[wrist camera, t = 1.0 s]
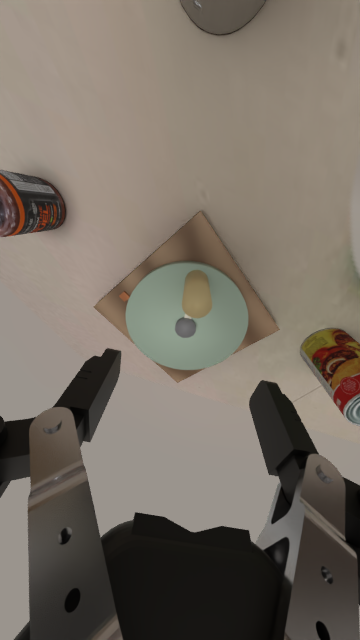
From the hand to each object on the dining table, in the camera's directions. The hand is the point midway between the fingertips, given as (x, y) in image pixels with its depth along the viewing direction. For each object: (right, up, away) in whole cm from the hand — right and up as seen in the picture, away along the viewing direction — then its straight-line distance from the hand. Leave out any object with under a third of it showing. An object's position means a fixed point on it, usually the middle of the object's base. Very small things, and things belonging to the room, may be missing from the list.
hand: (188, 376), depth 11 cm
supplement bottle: (-18, +19, +15) cm, 30 cm away
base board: (+1, +4, +21) cm, 22 cm away
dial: (0, +3, +19) cm, 20 cm away
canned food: (+25, -1, +23) cm, 34 cm away
